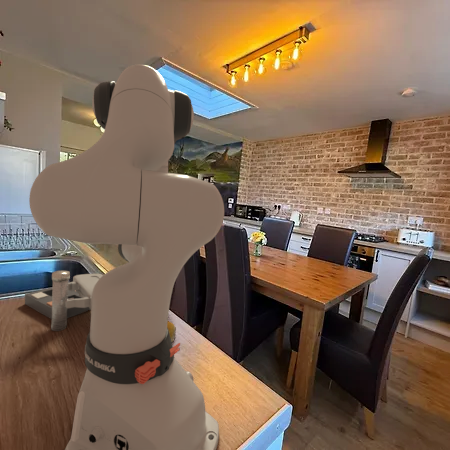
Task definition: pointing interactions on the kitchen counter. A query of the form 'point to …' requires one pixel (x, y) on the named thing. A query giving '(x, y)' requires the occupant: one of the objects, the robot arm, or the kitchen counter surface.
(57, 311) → the metal plug
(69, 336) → the kitchen counter surface
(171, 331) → the bread roll
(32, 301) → the socket board
